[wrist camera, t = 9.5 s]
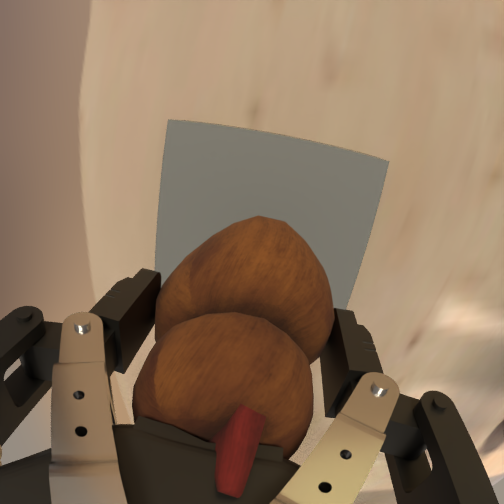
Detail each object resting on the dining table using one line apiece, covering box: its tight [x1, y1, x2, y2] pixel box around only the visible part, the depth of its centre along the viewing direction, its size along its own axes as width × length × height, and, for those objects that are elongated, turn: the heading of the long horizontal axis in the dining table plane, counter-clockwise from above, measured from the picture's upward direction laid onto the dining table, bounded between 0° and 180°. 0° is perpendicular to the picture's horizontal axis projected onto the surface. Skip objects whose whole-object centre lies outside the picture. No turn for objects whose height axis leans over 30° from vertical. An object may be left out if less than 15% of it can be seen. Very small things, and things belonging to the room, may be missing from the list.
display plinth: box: [155, 120, 389, 310], centre depth 21 cm, size 13×13×3 cm
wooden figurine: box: [132, 215, 335, 498], centre depth 10 cm, size 7×6×15 cm
